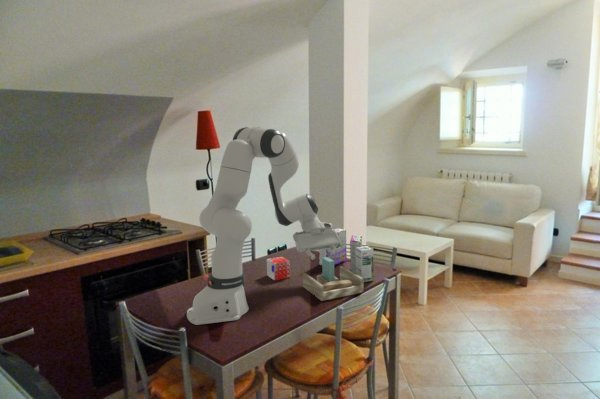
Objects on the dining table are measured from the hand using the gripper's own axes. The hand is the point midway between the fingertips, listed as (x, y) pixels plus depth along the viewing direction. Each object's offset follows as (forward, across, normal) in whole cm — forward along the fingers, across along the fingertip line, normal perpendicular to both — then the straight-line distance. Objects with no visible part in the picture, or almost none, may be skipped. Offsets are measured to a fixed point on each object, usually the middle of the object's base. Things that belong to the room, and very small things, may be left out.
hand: (323, 257), depth 180 cm
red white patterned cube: (-4, -14, +21) cm, 26 cm away
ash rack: (+14, 0, +3) cm, 14 cm away
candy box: (-8, +17, +25) cm, 31 cm away
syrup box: (+12, +18, +6) cm, 22 cm away
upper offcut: (+15, 0, -1) cm, 15 cm away
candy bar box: (+4, +20, +13) cm, 24 cm away
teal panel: (+11, 0, +6) cm, 13 cm away
